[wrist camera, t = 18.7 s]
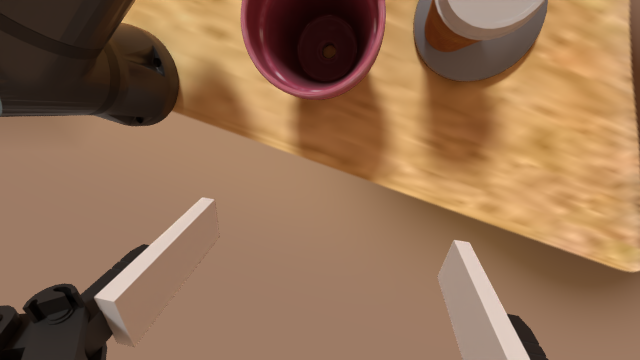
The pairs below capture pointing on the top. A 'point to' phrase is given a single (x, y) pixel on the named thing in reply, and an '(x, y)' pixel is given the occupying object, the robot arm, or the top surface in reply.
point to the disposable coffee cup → (475, 21)
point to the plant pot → (313, 43)
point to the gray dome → (476, 49)
